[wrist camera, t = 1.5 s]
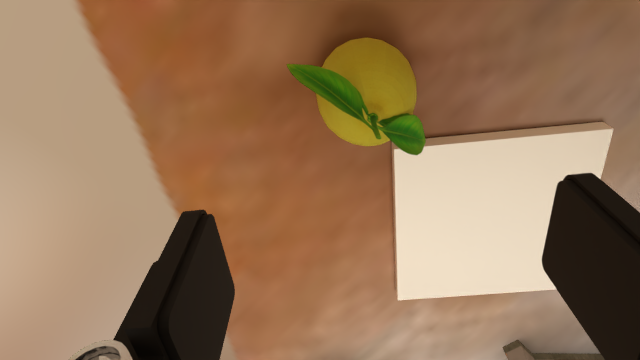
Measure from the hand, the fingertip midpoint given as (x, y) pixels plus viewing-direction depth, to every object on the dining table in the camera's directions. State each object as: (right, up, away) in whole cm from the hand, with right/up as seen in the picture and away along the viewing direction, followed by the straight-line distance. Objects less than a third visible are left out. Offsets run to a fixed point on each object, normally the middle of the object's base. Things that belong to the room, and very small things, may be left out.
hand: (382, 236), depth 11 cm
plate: (+11, -1, +20) cm, 23 cm away
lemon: (+1, +8, +15) cm, 17 cm away
